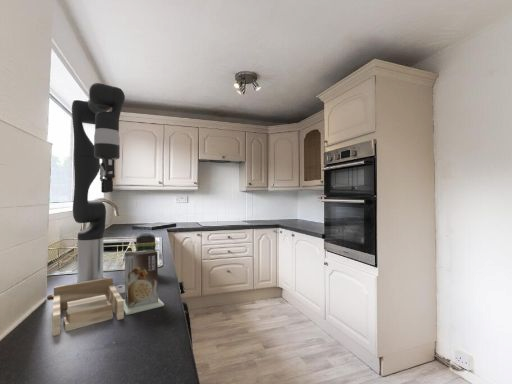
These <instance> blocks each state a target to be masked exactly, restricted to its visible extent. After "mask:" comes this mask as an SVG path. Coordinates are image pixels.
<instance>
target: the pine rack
mask: <svg viewBox="0 0 512 384" xmlns="http://www.w3.org/2000/svg"><path fill="white" fill-rule="evenodd" d="M115 286H116V285H114V277H113V276H110V277H105V278H104V277H103V279H97V280H91V281H85V282H79V283H78V282H74V283H67V284H62V285H61V284H60V285H56V286H53V295H54V299H53V303H52V305H53V307H52V337H55V336H60V335H61V311H62V310H67V302H70V301H75V300H81V299H86V298H91V297H96V296H101V295H105V296H106V298H107V301H108V302H110V303H111V304H112V312H113V314H114V316H115V318H116V319H117V320H118V321H119V320H123V319H124V318H125V316H124V315H125V312H124V300H123V297H122V296H121V293H118V291H117V290H116V288H115Z"/></svg>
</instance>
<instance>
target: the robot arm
mask: <svg viewBox="0 0 512 384" xmlns="http://www.w3.org/2000/svg"><path fill="white" fill-rule="evenodd" d="M88 96H89V97H88V99H87V100H83V99H74V100H73V101H72V104H71V117H72V128H73V129H72V130H73V173H74V180H73V181H74V189H73V201H72V202H73V203H72V216H73V219H74V221H75V223H77V224H89V225H88V226H87V228H85V229H83V230H81V231H79V232H78V233H77V262H76V263H77V271H76V272H77V273H76V274H77V275H76V277H77V279H76V280H77V282H76V283H79V282H85V281H91V280H97V279H104V234H105V232H106V222H107V221H106V218H107V209H106V208H107V207H106V205H105V203H104V202H103V201H102V200H89V199H88V198H89V190H90V187H91V185H92V183H94V180H96V177H97V176H98V174H99V181H100V183H101V185H100V186H101V187H100V189H101V193H103V194H106V193H113V192H114V188H113V187H114V180H115V177H116V175H115V171H116V170H115V164H116V163H115V160H119V159H120V156H121V155H120V153H121V152H120V151H121V150H120V145H121V143H120V117H121V113H122V109H123V106H124V103H125V101H126V100H125V99H126V96H125V92H124V91H123V89H121V88H120V87H117V86H113V85H109V84H105V83H100V82H94V83H92V84H91V85H90V86H89V90H88ZM83 124H88V125H95V126H94V136H93V137H94V138H93V142H94V143H93V142H92V140H90V138H89V137H88V134H87V133H86V131H85V128H84V125H83ZM100 161H101V162H100Z"/></svg>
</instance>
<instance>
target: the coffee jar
mask: <svg viewBox="0 0 512 384" xmlns="http://www.w3.org/2000/svg"><path fill="white" fill-rule="evenodd" d="M135 240H136V241H135V251H144V250H155V251H156V236H155V235H154V234H152V233H150V232H143V233H141V234H139V235H137V236H136V238H135Z"/></svg>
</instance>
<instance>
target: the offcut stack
mask: <svg viewBox="0 0 512 384" xmlns="http://www.w3.org/2000/svg"><path fill="white" fill-rule="evenodd" d="M112 319H114V311H113V309H112V304H111V303H110V302H109V301H108V300H107V298H106V296H105V295H101V296H96V297H91V298H86V299H81V300H75V301H70V302H67V308H66V309H65V317H64V316H63V318H62V320H63V321H62V323H63V328H64V331H65V332H68V331H71V330H75V329H79V328H83V327H87V326H90V325H94V324H98V323H101V322H105V321H108V320H112Z"/></svg>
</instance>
